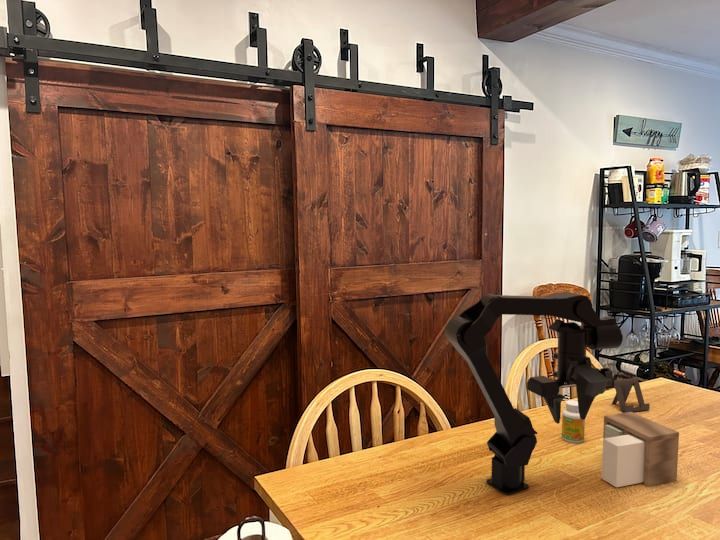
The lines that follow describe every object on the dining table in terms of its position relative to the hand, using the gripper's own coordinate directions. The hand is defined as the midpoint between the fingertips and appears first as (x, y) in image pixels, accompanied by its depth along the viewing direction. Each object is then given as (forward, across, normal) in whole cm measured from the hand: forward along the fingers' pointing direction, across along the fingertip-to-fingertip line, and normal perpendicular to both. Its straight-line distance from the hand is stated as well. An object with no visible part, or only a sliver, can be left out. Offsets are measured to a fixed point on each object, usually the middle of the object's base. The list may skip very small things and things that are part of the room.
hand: (569, 421), depth 115 cm
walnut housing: (+13, +17, -2) cm, 22 cm away
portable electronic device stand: (+14, +46, +30) cm, 57 cm away
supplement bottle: (+13, +15, +17) cm, 26 cm away
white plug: (+13, +12, -5) cm, 18 cm away
